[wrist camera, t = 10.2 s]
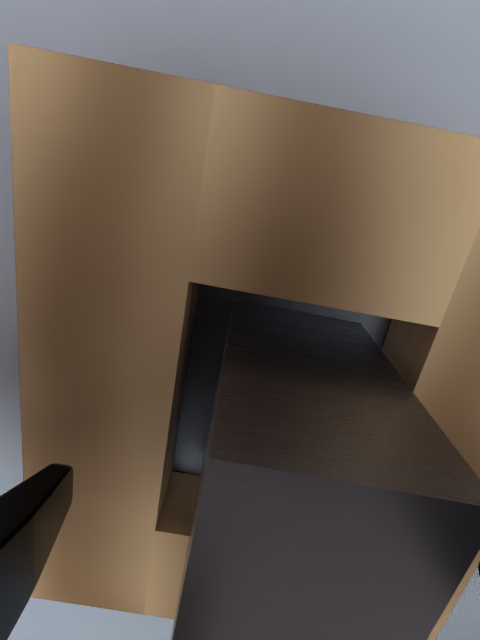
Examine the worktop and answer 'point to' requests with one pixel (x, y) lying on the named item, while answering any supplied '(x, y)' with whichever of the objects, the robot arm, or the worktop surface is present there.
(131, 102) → the post socket
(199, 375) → the worktop surface
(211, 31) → the worktop surface
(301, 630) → the dark grey rectangular prism
